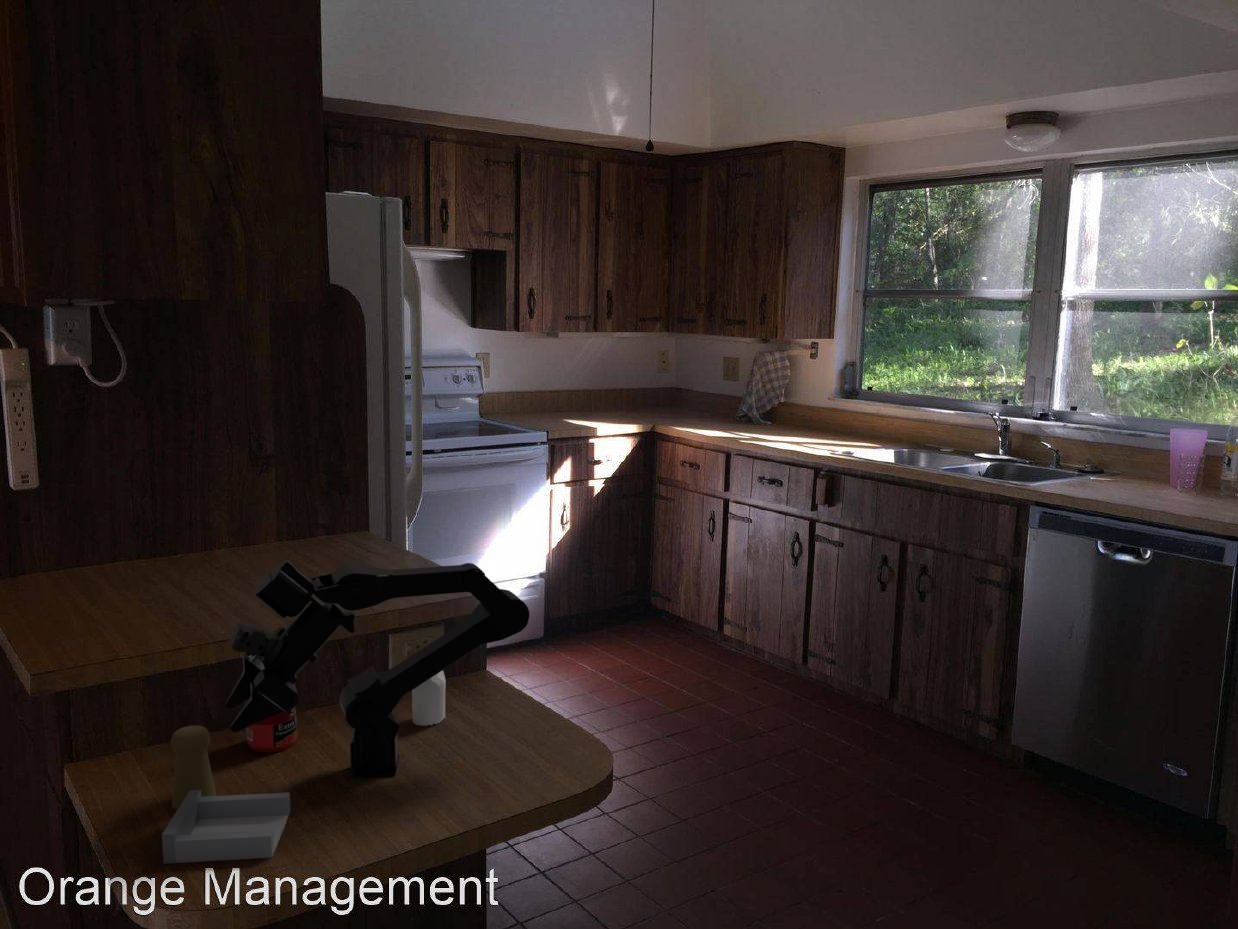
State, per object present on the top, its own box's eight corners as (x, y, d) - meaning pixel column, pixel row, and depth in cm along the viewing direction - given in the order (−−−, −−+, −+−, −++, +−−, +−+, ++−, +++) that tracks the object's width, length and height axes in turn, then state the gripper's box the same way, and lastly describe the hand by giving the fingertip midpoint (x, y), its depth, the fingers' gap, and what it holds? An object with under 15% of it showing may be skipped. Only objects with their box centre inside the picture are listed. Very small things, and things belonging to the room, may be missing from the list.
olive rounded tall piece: (180, 791, 149) (175, 721, 147) (222, 790, 150) (218, 720, 148) (165, 811, 143) (160, 738, 141) (209, 810, 144) (205, 737, 142)
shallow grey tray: (290, 812, 143) (289, 786, 143) (272, 857, 131) (270, 829, 131) (191, 817, 142) (189, 790, 141) (163, 863, 130) (161, 834, 129)
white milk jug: (430, 645, 178) (452, 652, 174) (432, 710, 180) (453, 718, 176) (403, 654, 173) (425, 662, 170) (405, 721, 175) (426, 729, 172)
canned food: (282, 755, 161) (279, 690, 160) (237, 750, 163) (233, 685, 161) (306, 735, 169) (303, 673, 167) (263, 731, 170) (260, 669, 169)
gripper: (256, 587, 155) (182, 666, 152) (270, 621, 138) (187, 710, 135) (311, 630, 159) (240, 707, 157) (331, 668, 143) (252, 755, 140)
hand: (229, 718), depth 147 cm, fingers open, 9 cm apart
